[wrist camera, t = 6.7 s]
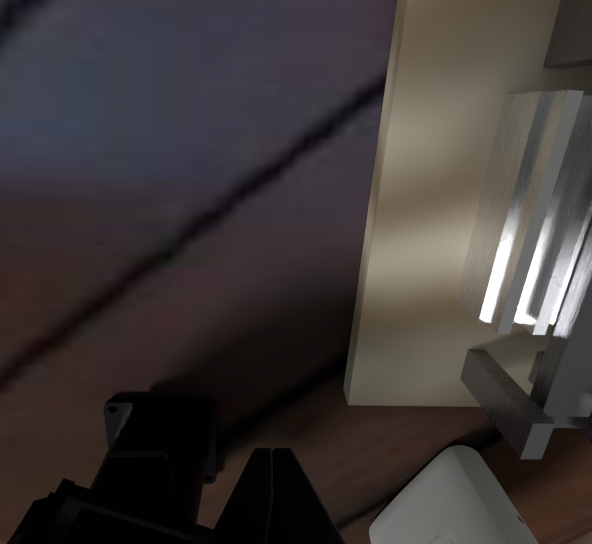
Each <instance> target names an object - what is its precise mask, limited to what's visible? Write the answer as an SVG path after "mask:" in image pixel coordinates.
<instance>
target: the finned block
mask: <svg viewBox="0 0 592 544" xmlns="http://www.w3.org/2000/svg"><path fill="white" fill-rule="evenodd" d="M583 92H584V91H576V90H562V91H552V92H543V91H539V92H529V93H520V94H511V95H505V97H504V101H503V105H502V110H501V114H500V118H499V122H498V126H497V130H496V135H495V139H494V143H493V147H492V151H491V155H490V159H489V164H488V168H487V172H486V176H485V180H484V184H483V189H482V193H481V197H480V201H479V205H478V209H477V214H476V218H475V222H474V226H473V230H472V234H471V239H470V243H469V247H468V251H467V255H466V259H465V264H464V268H463V272H462V276H461V280H460V284H459V288H458V293H457V297H456V301H457V302H458V303H459V304H460V305H461V306H462V307H463V308H465V309H466V310H467V311H468V312H469V313H470V314H471V315H472V316H473V317H474V318H475V319H476V320H477V321H478V322H485V323H486V324H487V325H488V326H489V327H490V328H492V329H493V330H494V331H495V332H496V333H497V334H510V331H511V328H512V325H513V323H519V324H520V325H521V326H522V327H524V328H525V329H526V330H527V331H529V332H530V333H531V334H532V335H545V333H546V330H547V328H548V325H549V324H552V325H553V326H554V323H555V321H556V318H557V315H558V312H559V309H560V306H561V303H562V300H563V297H564V294H565V291H566V289H567V286H568V283H569V280H570V277H571V274H572V271H573V268H574V265H575V262H576V259H577V256H578V254H579V251H580V248H581V245H582V242H583V239H584V236H585V233H586V230H587V227H588V224H589V222H590V219H591V216H592V95H590V96H588V95H583Z"/></svg>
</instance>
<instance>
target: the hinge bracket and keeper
mask: <svg viewBox="0 0 592 544" xmlns="http://www.w3.org/2000/svg"><path fill="white" fill-rule="evenodd" d="M588 65H592V0H561V1H560V5H559V8H558V12H557V16H556V20H555V23H554V27H553V31H552V35H551V38H550V42H549V46H548V50H547V54H546V57H545V61H544V65H543V68H553V69H563V70H565V69H571V68H576V67H582V66H588ZM544 353H545V351H538V352H537V355H536V358H535V361H534V363H533V366H532V369H531V372H530V375H529V378H528V380H529V381H530V382H531V383H532V384H533V385H534V382H535V379H536V376H537V373H538V370H539V367H540V364H541V361H542V358H543V356H544ZM460 379H461V381H462V382H463V383H464V385H465V386H466V387H467V389H468V390H469V391H470V393H471V394H472V395H473V397H474V398H475V399H476V401H477V402H478V403H479V405H480V406H481V407H482V409H483V410H484V411H485V413H486V414H487V415H488V417H489V418H490V419H491V421H492V422H493V423H494V425H495V426H496V427H497V429H498V430H499V431H500V433H501V434H502V435H503V437H504V438H505V439H506V441H507V442H508V443H509V445H510V446H511V447H512V449H513V450H514V451H515V453H516V454H517V455H518V457H519V458H520V459H542V456H543V454H544V451H545V449H546V446H547V444H548V441H549V438H550V436H551V433H552V431H553V428H554V426H555V423H554V422H553V421H552V420H551V419H550V418H549V417H548V416H547V414H546V413H545V412H544V411H543V410H542V409H541V408H540V407H539V406H538V405H537V404H536V403H535V402H534V401H533V400H532V399H531V398H530V397H529V396H528V394H527V393H526V392H525V391H524V390H523V389H522V388H521V387H520V386H519V385H518V384H517V383H516V382H515V381H514V380H513V379H512V378H511V377H510V376H509V375H508V373H507V372H506V371H505V370H504V369H503V368H502V367H501V366H500V365H499V364H498V363H497V362H496V361H495V360H494V359H493V358H492V357H491V356H490V355H489V353H488V352H487V351H486V350H483V349H468V351H467V354H466V358H465V362H464V366H463V369H462V373H461V377H460ZM577 429H578V430H579V431H580V432H581V433H582V434H583V435H584V436H585V437H586V438H587V439H588V440H589V441H590V442H591V443H592V411H591V413H590V416H589V423H588V425H587V427H585V428H577Z"/></svg>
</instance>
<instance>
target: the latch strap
mask: <svg viewBox="0 0 592 544" xmlns="http://www.w3.org/2000/svg"><path fill="white" fill-rule="evenodd" d="M529 397H530V398H531V399H532V400H533V401H534V402H535V403H536V404H537V405H538V406H539V407H540V408H541V409H542V410H543V411H544V412H545V413H546V414H547V416H548V417H549V418H550V419H551V420H552V421H553V422H554V423H555V426H554V428H585V427H587V425H588V423H589V416H590V413H591V411H592V216H591V219H590V222H589V224H588V227H587V230H586V233H585V236H584V239H583V242H582V245H581V248H580V251H579V254H578V256H577V259H576V262H575V265H574V268H573V271H572V274H571V277H570V280H569V283H568V286H567V289H566V291H565V294H564V297H563V300H562V303H561V306H560V309H559V312H558V315H557V318H556V321H555V323H554V326H553V329H552V332H551V335H550V338H549V341H548V344H547V347H546V350H545V353H544V356H543V358H542V361H541V364H540V367H539V370H538V373H537V376H536V379H535V382H534V385H533V388H532V390H531V393H530V396H529Z"/></svg>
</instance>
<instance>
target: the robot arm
mask: <svg viewBox="0 0 592 544" xmlns="http://www.w3.org/2000/svg"><path fill="white" fill-rule="evenodd" d="M111 406H114V407H116V408H112V407H111ZM205 407H210V408H211V409H206V408H205ZM104 416H105V424H106V431H107V439H108V447H109V450H108V452H107V454H106V456H105V458H104V460H103V462H102V464H101V466H100V468H99V471H98V473H97V475H96V477H95V479H94V481H93V483H92V485H91V487H90V489H88V488H85V487H81V486H78V485H75V484H74V483H75V482H74V481H71V480H68V479H65V478H64V479H63V480H62V482H61V484H60V485H59V487H58V489H57V490H56V492H55V493H53V492H50V493H49V495H48V497H47V498H43V499H39V500H35V501H34V502H33V503H32V505H31V507H30V508H29V510H28V512H27V513H26V515H25V516H24V518H23V520H22V521H21V523H20V525H19V526H18V528H17V529H16V531H15V532H14V534H13V536H12V537H11V538H10V540H9V541H8V543H7V544H346V543H345V541H344V540H343V538H342V536H341V534H340V532H339V531H338V529H337V527H336V525H335V524H334V522H333V520H332V518H331V517H330V515H329V513H328V511H327V510H326V508H325V506H324V504H323V503H322V501H321V499H320V497H319V496H318V494H317V492H316V490H315V489H314V487H313V485H312V483H311V482H310V480H309V478H308V476H307V475H306V473H305V471H304V469H303V468H302V466H301V464H300V462H299V460H298V459H297V457H296V455H295V453H294V452H293V450H292V449H290V448H275V449H274V450H272V449H271V448H256V449H254V451H253V452H252V454H251V456H250V458H249V460H248V462H247V464H246V466H245V468H244V470H243V472H242V474H241V476H240V478H239V480H238V482H237V484H236V486H235V488H234V490H233V492H232V494H231V496H230V498H229V500H228V502H227V504H226V506H225V508H224V510H223V512H222V514H221V516H220V518H219V520H218V522H217V524H216V526H215V528H214V529H211V528H208V527H204V526H201V525H198V524H196V522H197V517H198V511H199V505H200V500H201V494H202V488H203V484H212V483H214V482H215V481H216V476H217V405H216V403H215V401H213V400H210V399H151V398H111V399H109V400H108V401H107V402H106V404H105V406H104ZM208 475H209V476H208Z"/></svg>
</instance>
